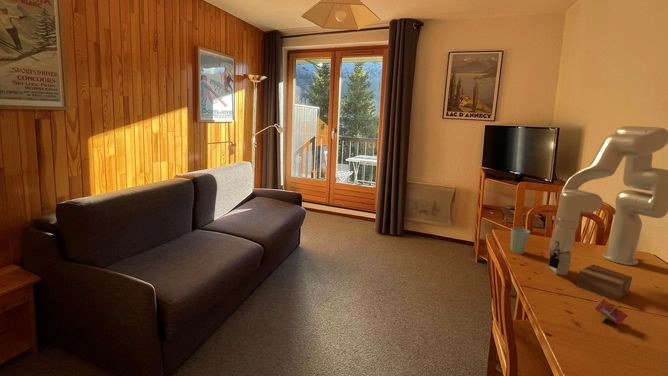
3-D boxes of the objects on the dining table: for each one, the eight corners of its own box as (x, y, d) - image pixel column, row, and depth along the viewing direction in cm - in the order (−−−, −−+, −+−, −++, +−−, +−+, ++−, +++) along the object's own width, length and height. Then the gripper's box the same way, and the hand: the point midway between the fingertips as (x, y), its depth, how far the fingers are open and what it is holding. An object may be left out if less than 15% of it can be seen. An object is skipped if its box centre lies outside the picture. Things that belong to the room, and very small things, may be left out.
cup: (525, 250, 163) (528, 228, 161) (527, 256, 156) (531, 233, 154) (507, 247, 165) (510, 226, 163) (509, 253, 158) (512, 231, 156)
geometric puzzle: (634, 319, 104) (618, 293, 106) (630, 327, 99) (613, 299, 101) (608, 323, 109) (593, 298, 111) (602, 331, 104) (587, 305, 106)
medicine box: (567, 276, 137) (572, 255, 135) (555, 274, 138) (559, 253, 136) (559, 267, 144) (563, 248, 143) (547, 266, 145) (551, 246, 144)
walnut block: (590, 278, 135) (593, 264, 134) (628, 292, 125) (632, 276, 124) (576, 285, 129) (579, 270, 127) (615, 300, 119) (619, 284, 118)
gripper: (566, 218, 145) (558, 257, 148) (545, 223, 135) (538, 265, 139) (587, 223, 139) (578, 264, 142) (566, 229, 129) (558, 272, 133)
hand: (558, 264), depth 141 cm, fingers closed on medicine box, 8 cm apart
